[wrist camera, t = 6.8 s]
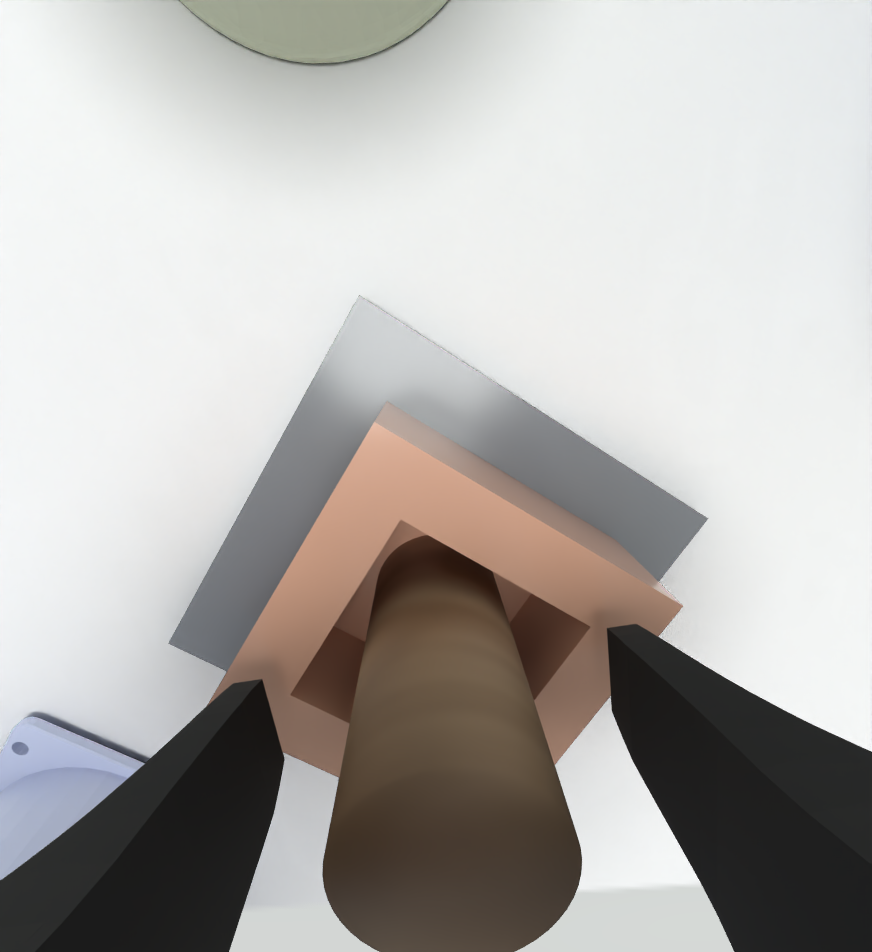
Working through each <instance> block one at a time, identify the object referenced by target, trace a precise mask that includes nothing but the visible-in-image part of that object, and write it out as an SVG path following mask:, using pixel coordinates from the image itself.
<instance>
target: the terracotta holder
mask: <svg viewBox="0 0 872 952" xmlns="http://www.w3.org/2000/svg"><path fill="white" fill-rule="evenodd" d="M707 519H708V518H706V517H705V516H703V515H702V514H700V513H698V512H697V511H695V510H694V509H692V508H691V507H689V506H688V505H686V504H684V503H683V502H681V501H680V500H678V499H677V498H675V497H674V496H672V495H670V494H669V493H667V492H666V491H664V490H663V489H661V488H659V487H658V486H656V485H655V484H653V483H652V482H650V481H649V480H647V479H645V478H644V477H642V476H641V475H639V474H638V473H636V472H634V471H633V470H631V469H630V468H628V467H627V466H625V465H624V464H622V463H620V462H619V461H617V460H616V459H614V458H613V457H611V456H609V455H608V454H606V453H605V452H603V451H602V450H600V449H599V448H597V447H595V446H594V445H592V444H591V443H589V442H588V441H586V440H584V439H583V438H581V437H580V436H578V435H577V434H575V433H574V432H572V431H570V430H569V429H567V428H566V427H564V426H563V425H561V424H560V423H558V422H556V421H555V420H553V419H552V418H550V417H549V416H547V415H545V414H544V413H542V412H541V411H539V410H538V409H536V408H535V407H533V406H531V405H530V404H528V403H527V402H525V401H524V400H522V399H520V398H519V397H517V396H516V395H514V394H513V393H511V392H510V391H508V390H506V389H505V388H503V387H502V386H500V385H499V384H497V383H495V382H494V381H492V380H491V379H489V378H488V377H486V376H485V375H483V374H481V373H480V372H478V371H477V370H475V369H474V368H472V367H470V366H469V365H467V364H466V363H464V362H463V361H461V360H460V359H458V358H456V357H455V356H453V355H452V354H450V353H449V352H447V351H446V350H444V349H442V348H441V347H439V346H438V345H436V344H435V343H433V342H431V341H430V340H428V339H427V338H425V337H424V336H422V335H421V334H419V333H417V332H416V331H414V330H413V329H411V328H410V327H408V326H406V325H405V324H403V323H402V322H400V321H399V320H397V319H396V318H394V317H392V316H391V315H389V314H388V313H386V312H385V311H383V310H381V309H380V308H378V307H377V306H375V305H374V304H372V303H371V302H369V301H367V300H366V299H364V298H363V297H361V296H360V295H359V296H358V298H357V300H356V302H355V304H354V306H353V307H352V309H351V311H350V313H349V315H348V316H347V318H346V320H345V322H344V324H343V326H342V327H341V329H340V331H339V333H338V335H337V337H336V338H335V340H334V342H333V344H332V346H331V348H330V349H329V351H328V353H327V355H326V357H325V358H324V360H323V362H322V364H321V366H320V368H319V369H318V371H317V373H316V375H315V377H314V379H313V380H312V382H311V384H310V386H309V388H308V389H307V391H306V393H305V395H304V397H303V399H302V400H301V402H300V404H299V406H298V408H297V410H296V411H295V413H294V415H293V417H292V419H291V421H290V422H289V424H288V426H287V428H286V430H285V431H284V433H283V435H282V437H281V439H280V441H279V442H278V444H277V446H276V448H275V450H274V452H273V453H272V455H271V457H270V459H269V461H268V462H267V464H266V466H265V468H264V470H263V472H262V473H261V475H260V477H259V479H258V481H257V483H256V484H255V486H254V488H253V490H252V492H251V494H250V495H249V497H248V499H247V501H246V503H245V504H244V506H243V508H242V510H241V512H240V514H239V515H238V517H237V519H236V521H235V523H234V525H233V526H232V528H231V530H230V532H229V534H228V535H227V537H226V539H225V541H224V543H223V545H222V546H221V548H220V550H219V552H218V554H217V556H216V557H215V559H214V561H213V563H212V565H211V567H210V568H209V570H208V572H207V574H206V576H205V577H204V579H203V581H202V583H201V585H200V587H199V588H198V590H197V592H196V594H195V596H194V598H193V599H192V601H191V603H190V605H189V607H188V608H187V610H186V612H185V614H184V616H183V618H182V619H181V621H180V623H179V625H178V627H177V629H176V630H175V632H174V634H173V636H172V638H171V640H170V641H169V644H171V645H173V646H175V647H177V648H179V649H181V650H183V651H185V652H188V653H190V654H192V655H194V656H196V657H198V658H200V659H202V660H204V661H206V662H209V663H211V664H213V665H215V666H217V667H219V668H221V669H223V670H225V671H227V673H226V675H225V676H224V678H223V680H222V681H221V683H220V685H219V686H218V688H217V690H216V692H215V693H214V695H213V697H212V698H211V700H210V702H209V703H208V705H209V704H210V703H211V702H212V701H213V700H214V699H215V698H217V697H218V696H219V695H220V694H221V693H222V692H223V691H224V690H226V689H227V688H228V687H229V686H231V685H232V684H233V683H238V682H245V681H251V680H258V679H262V680H263V683H264V687H265V690H266V694H267V698H268V701H269V705H270V708H271V712H272V716H273V719H274V723H275V726H276V730H277V734H278V737H279V741H280V745H281V748H282V752H284V753H286V754H288V755H291V756H293V757H295V758H297V759H299V760H302V761H304V762H306V763H308V764H310V765H313V766H315V767H317V768H319V769H321V770H324V771H326V772H328V773H330V774H332V775H335V776H337V777H339V776H340V771H341V766H342V761H343V755H344V750H345V745H346V740H347V735H348V729H349V724H350V719H351V714H352V709H353V703H354V698H355V693H356V688H357V682H358V677H359V672H360V667H361V662H362V656H363V651H364V646H365V641H366V636H367V630H368V625H369V620H370V615H371V610H372V604H373V599H374V594H375V589H376V583H377V579H378V575H379V572H380V569H381V567H382V565H383V563H384V562H385V560H386V559H387V558H388V556H389V555H390V554H391V553H392V552H393V551H394V550H395V549H397V548H398V547H399V546H400V545H402V544H404V543H405V542H407V541H409V540H411V539H414V538H417V537H420V536H425V535H429V536H431V537H433V538H434V539H436V540H438V541H440V542H441V543H443V544H445V545H447V546H449V547H450V548H452V549H454V550H456V551H457V552H459V553H461V554H463V555H464V556H466V557H468V558H470V559H472V560H473V561H475V562H477V563H479V564H480V565H482V566H484V567H486V568H487V569H489V570H491V571H493V574H494V577H495V580H496V584H497V587H498V590H499V593H500V596H501V599H502V602H503V605H504V609H505V612H506V615H507V618H508V621H509V624H510V627H511V631H512V634H513V637H514V640H515V643H516V646H517V649H518V652H519V656H520V659H521V662H522V665H523V668H524V671H525V674H526V677H527V681H528V684H529V687H530V690H531V693H532V696H533V699H534V702H535V706H536V709H537V712H538V715H539V718H540V721H541V724H542V727H543V731H544V734H545V737H546V740H547V743H548V746H549V749H550V752H551V756H552V759H553V762H554V765H555V764H556V763H557V761H558V760H559V759H560V758H561V756H562V755H563V754H564V753H565V751H566V750H567V749H568V748H569V746H570V745H571V744H572V743H573V742H574V740H575V739H576V738H577V737H578V735H579V734H580V733H581V732H582V730H583V729H584V728H585V727H586V725H587V724H588V723H589V722H590V721H591V719H592V718H593V717H594V716H595V714H596V713H597V712H598V711H599V709H600V708H601V707H602V706H603V704H604V703H605V702H606V701H607V700H608V698H609V697H610V696H611V688H610V672H609V656H608V640H607V628H610V627H617V626H624V625H630V624H638V625H639V626H641V627H643V628H645V629H646V630H648V631H650V632H651V633H653V634H654V635H656V636H658V637H659V635H660V634H661V633H662V632H663V630H664V629H665V628H666V627H667V625H668V624H669V623H670V622H671V620H672V619H673V618H674V617H675V616H676V614H677V613H678V612H679V611H680V609H681V608H682V607H683V605H682V604H681V603H680V602H679V601H678V600H677V599H676V598H675V597H674V596H673V595H672V594H670V593H669V592H668V591H667V590H666V589H665V588H664V587H663V586H662V585H661V584H660V583H659V581H660V579H661V578H662V577H663V575H664V574H665V573H666V572H667V570H668V569H669V568H670V567H671V565H672V564H673V563H674V561H675V560H676V559H677V558H678V556H679V555H680V554H681V553H682V551H683V550H684V549H685V547H686V546H687V545H688V544H689V542H690V541H691V540H692V539H693V537H694V536H695V535H696V533H697V532H698V531H699V530H700V528H701V527H702V526H703V525H704V523H705V522H706V521H707ZM208 705H207V706H208Z"/></svg>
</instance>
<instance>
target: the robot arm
mask: <svg viewBox="0 0 872 952" xmlns="http://www.w3.org/2000/svg"><path fill="white" fill-rule="evenodd" d="M607 640H608V656H609V672H610V688H611V704H612V712H613V715H614V717H615V720H616V722H617V725H618V727H619V730H620V732H621V734H622V737H623V739H624V742H625V744H626V746H627V749H628V751H629V753H630V755H631V758H632V760H633V762H634V764H635V766H636V767H637V769H638V771H639V773H640V775H641V777H642V778H643V780H644V782H645V784H646V786H647V787H648V789H649V791H650V793H651V795H652V797H653V798H654V800H655V802H656V804H657V805H658V807H659V809H660V811H661V813H662V814H663V816H664V818H665V820H666V822H667V823H668V825H669V827H670V829H671V830H672V832H673V834H674V836H675V838H676V839H677V841H678V843H679V845H680V846H681V848H682V850H683V852H684V854H685V855H686V857H687V859H688V861H689V863H690V864H691V866H692V868H693V870H694V871H695V873H696V875H697V877H698V879H699V880H700V882H701V884H702V886H703V888H704V890H705V892H706V894H707V895H708V898H709V899H710V901H711V903H712V905H713V907H714V909H715V911H716V913H717V915H718V917H719V919H720V922H721V924H722V926H723V928H724V930H725V932H726V935H727V937H728V939H729V941H730V943H731V945H732V947H733V950H734V952H872V752H871V751H869V750H866V749H864V748H862V747H860V746H858V745H855V744H853V743H851V742H849V741H847V740H845V739H842V738H840V737H838V736H836V735H834V734H831V733H829V732H827V731H825V730H823V729H821V728H818V727H816V726H814V725H812V724H810V723H808V722H806V721H804V720H802V719H800V718H798V717H796V716H794V715H792V714H790V713H788V712H786V711H784V710H783V709H781V708H779V707H777V706H775V705H773V704H771V703H769V702H768V701H766V700H764V699H762V698H760V697H758V696H756V695H754V694H753V693H751V692H749V691H747V690H745V689H744V688H742V687H740V686H738V685H737V684H735V683H733V682H731V681H730V680H728V679H726V678H724V677H723V676H721V675H719V674H718V673H716V672H714V671H713V670H711V669H709V668H708V667H706V666H704V665H703V664H701V663H699V662H698V661H696V660H695V659H693V658H691V657H690V656H688V655H686V654H685V653H683V652H682V651H680V650H678V649H677V648H675V647H674V646H672V645H670V644H669V643H667V642H666V641H664V640H662V639H661V638H659V637H658V636H656V635H654V634H653V633H651V632H650V631H648V630H646V629H645V628H643V627H641V626H639V625H638V624H630V625H624V626H617V627H610V628H607ZM283 765H284V755H283V752H282V748H281V745H280V741H279V737H278V734H277V730H276V726H275V723H274V719H273V716H272V712H271V708H270V705H269V701H268V698H267V694H266V690H265V687H264V683H263V680H262V679H258V680H251V681H245V682H238V683H233V684H232V685H231V686H229V687H228V688H227V689H226V690H224V691H223V692H222V693H221V694H220V695H219V696H218V697H217V698H215V699H214V700H213V701H212V702H211V703H210V704H209V705H208V706H207V707H206V708H205V709H203V710H202V711H201V712H200V713H199V714H198V715H197V716H196V717H195V718H194V719H193V720H192V721H191V722H190V723H188V724H187V725H186V726H185V727H184V728H183V729H182V730H181V731H180V732H179V733H178V734H177V735H176V736H174V737H173V738H172V739H171V740H170V741H169V742H168V743H167V744H166V745H165V746H164V747H163V748H161V749H160V750H159V751H158V752H157V753H156V754H155V755H154V756H153V757H152V758H151V759H150V760H148V761H147V762H146V763H143V762H140V761H138V760H136V759H133V758H131V757H129V756H126V755H124V754H122V753H119V752H117V751H115V750H112V749H110V748H108V747H105V746H103V745H101V744H98V743H96V742H94V741H91V740H89V739H87V738H84V737H82V736H80V735H77V734H75V733H73V732H70V731H68V730H66V729H63V728H61V727H59V726H56V725H54V724H52V723H49V722H47V721H45V720H42V719H40V718H36V717H27V718H24V719H22V720H21V721H20V722H19V723H18V724H17V725H16V726H15V727H14V728H13V729H12V730H11V732H10V735H9V737H8V739H7V741H6V743H5V745H4V747H3V749H2V751H1V753H0V952H229V950H230V947H231V943H232V941H233V938H234V935H235V931H236V928H237V925H238V922H239V919H240V916H241V913H242V910H243V907H244V904H245V901H246V898H247V895H248V892H249V889H250V886H251V883H252V880H253V876H254V873H255V870H256V867H257V864H258V861H259V858H260V855H261V852H262V849H263V846H264V842H265V839H266V836H267V833H268V830H269V827H270V824H271V820H272V817H273V814H274V810H275V805H276V800H277V796H278V791H279V786H280V781H281V775H282V770H283Z"/></svg>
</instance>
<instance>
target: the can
mask: <svg viewBox="0 0 872 952" xmlns="http://www.w3.org/2000/svg"><path fill="white" fill-rule="evenodd" d="M180 1H181V2H182V3H183V4H184V5H185V6H186V7H187V8H188V9H189V10H190V11H191V12H193V13H194V14H195V15H196V16H198V17H199V18H200V19H201V20H203V21H204V22H205V23H207V24H208V25H209V26H211V27H212V28H214V29H215V30H217V31H218V32H220V33H222V34H223V35H225V36H226V37H228V38H230V39H231V40H233V41H235V42H237V43H239V44H241V45H243V46H245V47H247V48H250V49H252V50H255V51H258V52H260V53H263V54H265V55H268V56H271V57H276V58H280V59H285V60H289V61H295V62H303V63H334V62H344V61H348V60H352V59H357V58H361V57H366V56H369V55H371V54H374V53H377V52H379V51H382V50H384V49H386V48H388V47H390V46H392V45H394V44H396V43H398V42H399V41H401V40H403V39H405V38H406V37H408V36H409V35H410V34H412V33H413V32H415V31H416V30H417V29H419V28H420V27H421V26H423V25H424V24H425V23H426V22H427V21H428V20H429V19H430V18H432V17H433V16H434V15H435V14H436V13H437V12H438V11H439V10H440V9H441V8H442V7H443V5H444V4H445V3H446V2H447V1H448V0H180Z"/></svg>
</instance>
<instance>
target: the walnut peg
mask: <svg viewBox="0 0 872 952" xmlns="http://www.w3.org/2000/svg"><path fill="white" fill-rule="evenodd" d="M581 869H582V856H581V848H580V844H579V840H578V837H577V834H576V831H575V827H574V824H573V821H572V818H571V815H570V812H569V809H568V806H567V802H566V799H565V796H564V793H563V790H562V787H561V784H560V781H559V777H558V774H557V771H556V768H555V765H554V762H553V759H552V756H551V752H550V749H549V746H548V743H547V740H546V737H545V734H544V731H543V727H542V724H541V721H540V718H539V715H538V712H537V709H536V706H535V702H534V699H533V696H532V693H531V690H530V687H529V684H528V681H527V677H526V674H525V671H524V668H523V665H522V662H521V659H520V656H519V652H518V649H517V646H516V643H515V640H514V637H513V634H512V631H511V627H510V624H509V621H508V618H507V615H506V612H505V609H504V605H503V602H502V599H501V596H500V593H499V590H498V587H497V584H496V580H495V577H494V574H493V571H491V570H489V569H487V568H486V567H484V566H482V565H480V564H479V563H477V562H475V561H473V560H472V559H470V558H468V557H466V556H464V555H463V554H461V553H459V552H457V551H456V550H454V549H452V548H450V547H449V546H447V545H445V544H443V543H441V542H440V541H438V540H436V539H434V538H433V537H431V536H429V535H425V536H420V537H417V538H414V539H411V540H409V541H407V542H405V543H404V544H402V545H400V546H399V547H398V548H397V549H395V550H394V551H393V552H392V553H391V554H390V555H389V556H388V558H387V559H386V560H385V562H384V563H383V565H382V567H381V569H380V572H379V575H378V579H377V583H376V589H375V594H374V599H373V604H372V610H371V615H370V620H369V625H368V630H367V636H366V641H365V646H364V651H363V656H362V662H361V667H360V672H359V677H358V682H357V688H356V693H355V698H354V703H353V709H352V714H351V719H350V724H349V729H348V735H347V740H346V745H345V750H344V755H343V761H342V766H341V771H340V776H339V782H338V787H337V792H336V797H335V802H334V808H333V813H332V818H331V823H330V828H329V834H328V839H327V844H326V849H325V854H324V860H323V882H324V889H325V892H326V895H327V899H328V901H329V903H330V905H331V907H332V909H333V911H334V913H335V914H336V916H337V917H338V918H339V920H340V921H341V923H342V924H343V925H344V926H345V927H346V928H347V929H348V930H349V931H350V932H351V933H352V934H353V935H354V936H356V937H357V938H358V939H359V940H361V941H362V942H364V943H365V944H367V945H368V946H370V947H372V948H373V949H375V950H377V951H379V952H515V951H517V950H519V949H521V948H523V947H525V946H526V945H528V944H530V943H531V942H533V941H535V940H536V939H537V938H539V937H540V936H541V935H543V934H544V933H545V932H546V931H548V930H549V929H550V928H551V927H552V926H553V925H554V924H555V923H556V922H557V921H558V920H559V919H560V917H561V916H562V915H563V914H564V912H565V911H566V910H567V908H568V906H569V905H570V903H571V901H572V900H573V898H574V895H575V893H576V890H577V888H578V885H579V881H580V876H581Z"/></svg>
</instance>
